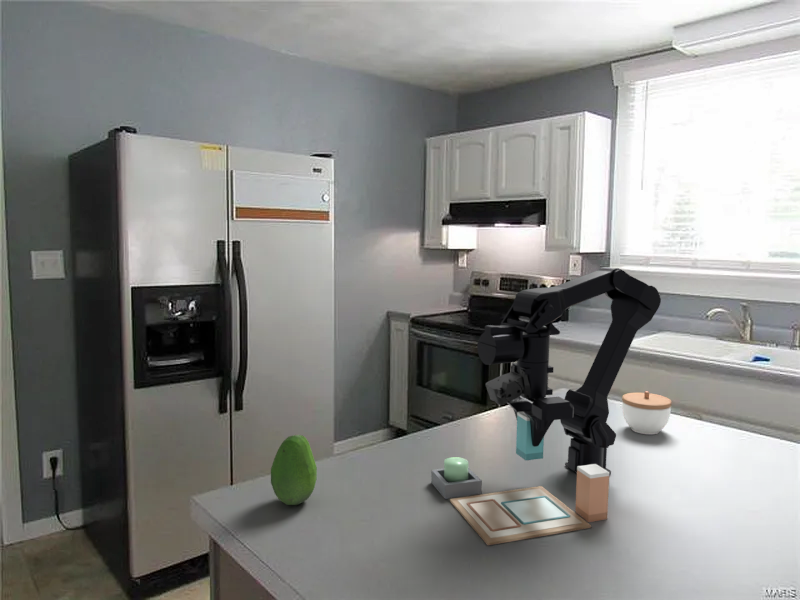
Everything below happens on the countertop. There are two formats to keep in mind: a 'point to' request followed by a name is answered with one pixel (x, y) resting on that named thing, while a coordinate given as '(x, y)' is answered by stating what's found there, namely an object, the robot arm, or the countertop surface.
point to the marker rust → (592, 492)
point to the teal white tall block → (526, 439)
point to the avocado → (294, 471)
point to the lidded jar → (646, 412)
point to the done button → (455, 469)
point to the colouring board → (517, 515)
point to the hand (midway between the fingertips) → (529, 442)
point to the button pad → (456, 485)
